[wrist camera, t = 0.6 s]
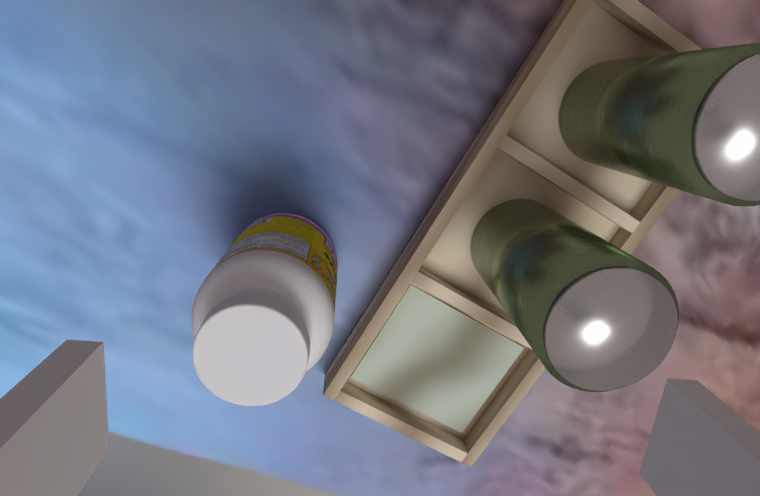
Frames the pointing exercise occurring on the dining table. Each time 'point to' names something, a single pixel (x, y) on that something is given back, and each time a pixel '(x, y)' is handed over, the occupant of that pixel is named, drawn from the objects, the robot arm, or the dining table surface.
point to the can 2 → (575, 296)
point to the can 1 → (673, 120)
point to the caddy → (453, 246)
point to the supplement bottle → (265, 310)
